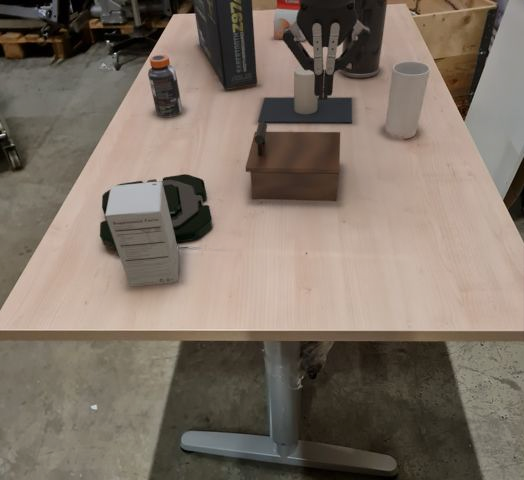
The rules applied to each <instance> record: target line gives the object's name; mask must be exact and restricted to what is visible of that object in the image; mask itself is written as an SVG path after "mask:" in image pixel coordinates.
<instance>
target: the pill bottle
mask: <svg viewBox="0 0 524 480" xmlns="http://www.w3.org/2000/svg"><path fill="white" fill-rule="evenodd" d="M149 63H150V68H149V69H148V72H147V75H148V80H149V85H150V90H151V94H152V98H153V103H154V108H155V112H156V115H158V117H162V118H171V117H172V118H173V117H176V116H178V115H180V114H181V113H182V112H183V107H182V106H183V105H182V99H181V94H180V89H179V83H178V82H179V81H178V77H177V71H176V69H175V67H173V66H172V65H171V62H170V57H169V55H167V54H155V55H153V56H150V58H149Z"/></svg>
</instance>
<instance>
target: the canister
mask: <svg viewBox="0 0 524 480" xmlns="http://www.w3.org/2000/svg"><path fill="white" fill-rule="evenodd" d="M314 81H315V75H314V73H313V72H312V71H310V70H304V69H303V68H302V66H301V65H300V66H299V65H298V66H297V67H295V68H294V70H293V98H294V111H295V112H296V113H299V114H312V113H314V112H316V111H317V109H318V96H315V93H314Z"/></svg>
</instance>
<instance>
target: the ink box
mask: <svg viewBox="0 0 524 480" xmlns="http://www.w3.org/2000/svg"><path fill="white" fill-rule="evenodd" d="M299 9H300V0H276V7H275V11H274V17H273V39H277V40H283V32H284V29H285V28H286V27H290V26H291V25H292V24H293V23H294V22H295V21H296V17H297V13H298V11H299ZM299 33H300V39H299V41H300V42H304V41H307V40H306V38H305V36H304V35H303V33H302V32H301V30H300V29H299Z"/></svg>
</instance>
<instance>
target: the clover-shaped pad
mask: <svg viewBox="0 0 524 480" xmlns="http://www.w3.org/2000/svg"><path fill="white" fill-rule="evenodd" d="M148 182H162V183H163V188H164V192H165V196H166V200H167V204H168V209H169V213H170V217H171V222H172V226H173V230H174V234H175V239H176V243H179V242H186V241H192V240H197V239H199V238H201V237H202V236H204V235H205V234H206V233H207V232H208V231H210V229H211V228H213V225H214V223H213V218H212V213H211V209H210V205H208V204H204V201H205V200H206V199H208V194H207V189H206V185H205V181H204V180H203V178H200V177H197V176H194V175H191V174H187V173H186V174H178V175H177V174H176V175H171V176H165V177H163V178H162V180H159V181H158V180H157V179H156V178H153V179H147V181H146V183H148ZM138 183H144V181H143V180H136V181H131V182H124V183H118V184H116V185H115V186H118V185H128V184H138ZM109 194H110V189H109V190H107V191H105V192H104V193H103V194H102V197H101V208H102V211H103V214H104V215H106V209H107V204H108V199H109ZM99 237H100V240H101V243H102V244H103V246H106V247H108V248H111V249H113V250H115V251H117V248H116V245H115V242H114V239H113V236H112V233H111V230H110V228H109V225H108V222H107V219H106V220H102V221H101V222H100V224H99Z"/></svg>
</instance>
